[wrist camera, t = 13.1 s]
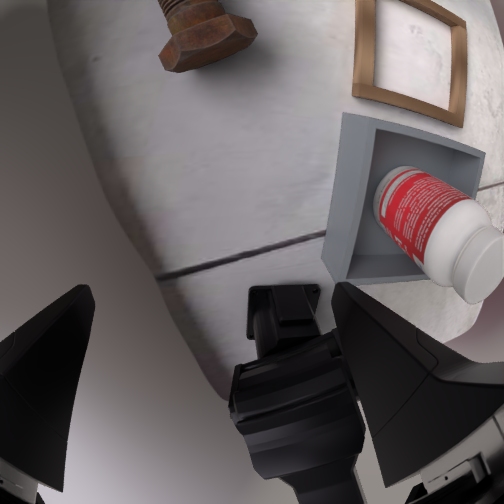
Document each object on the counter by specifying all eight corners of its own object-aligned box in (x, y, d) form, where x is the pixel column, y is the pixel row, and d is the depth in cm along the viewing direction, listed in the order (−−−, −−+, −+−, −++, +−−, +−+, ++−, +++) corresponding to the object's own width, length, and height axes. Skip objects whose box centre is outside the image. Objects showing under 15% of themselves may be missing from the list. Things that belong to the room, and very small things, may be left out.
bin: (426, 255, 25) (447, 277, 22) (321, 258, 24) (336, 286, 20) (455, 141, 19) (485, 152, 15) (342, 112, 18) (368, 117, 14)
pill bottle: (359, 222, 22) (437, 313, 12) (386, 153, 19) (493, 211, 9) (410, 237, 23) (485, 315, 14) (436, 178, 20) (529, 238, 11)
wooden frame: (453, 125, 18) (462, 128, 17) (351, 95, 17) (359, 96, 16) (457, 22, 13) (465, 21, 12) (354, -25, 11) (361, -30, 10)
